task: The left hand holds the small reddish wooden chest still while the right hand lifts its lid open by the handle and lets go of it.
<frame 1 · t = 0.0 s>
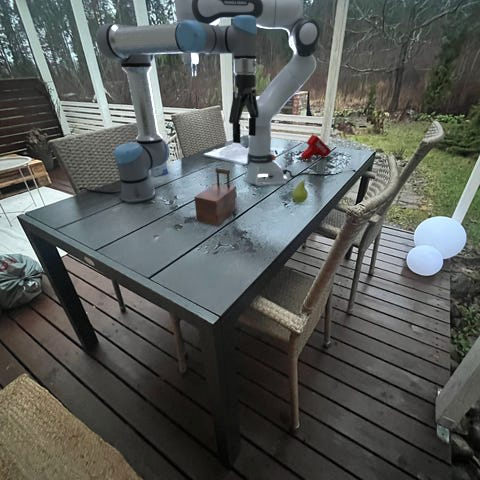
left hand: (244, 139, 104), 28 cm above the table, tool pointing down, fingers open, 13 cm apart
right hand: (192, 76, 120), 48 cm above the table, tool pointing down, fingers open, 8 cm apart
relief map: (236, 155, 185), on the table
chest: (217, 215, 111), on the table
fruit: (299, 202, 122), on the table
ink box: (159, 174, 155), on the table
lid: (215, 183, 104), point 13 cm above the table, hinge at 0.0°
toy gun: (315, 159, 177), on the table
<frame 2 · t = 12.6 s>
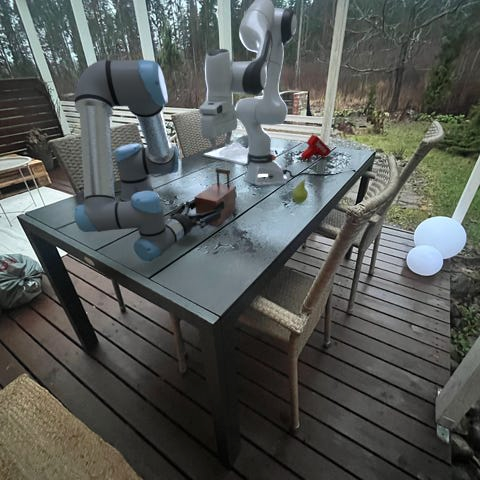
left hand: (211, 202, 105), 7 cm above the table, tool horizontal, fingers closed on chest, 10 cm apart
right hand: (221, 146, 102), 26 cm above the table, tool pointing down, fingers open, 8 cm apart
chest: (216, 215, 111), on the table, touching left hand
everything else where it was.
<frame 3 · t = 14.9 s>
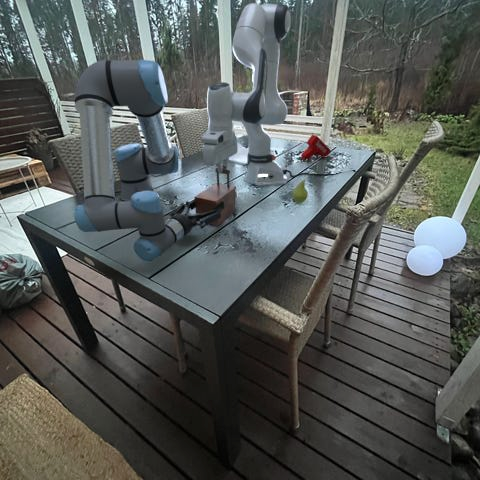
left hand: (211, 202, 105), 7 cm above the table, tool horizontal, fingers closed on chest, 10 cm apart
right hand: (222, 170, 107), 17 cm above the table, tool pointing down, fingers closed on lid, 2 cm apart
chest: (216, 215, 111), on the table, touching left hand
lid: (215, 183, 104), point 13 cm above the table, hinge at 0.0°, touching right hand
everything else where it was.
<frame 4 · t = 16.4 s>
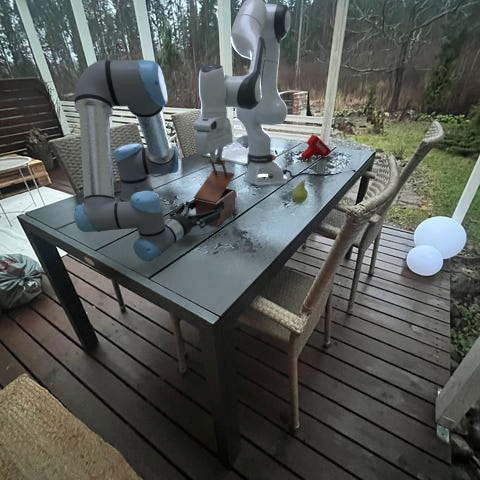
left hand: (211, 202, 105), 7 cm above the table, tool horizontal, fingers closed on chest, 10 cm apart
right hand: (216, 160, 101), 22 cm above the table, tool pointing down, fingers closed
chest: (216, 215, 111), on the table, touching left hand
lid: (212, 178, 101), point 16 cm above the table, hinge at 22.6°, touching right hand
everything else where it was.
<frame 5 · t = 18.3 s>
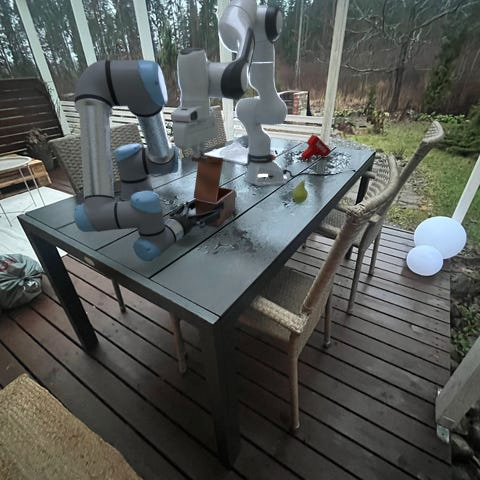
left hand: (211, 202, 105), 7 cm above the table, tool horizontal, fingers closed on chest, 10 cm apart
right hand: (199, 156, 91), 26 cm above the table, tool pointing down, fingers closed, pressing on lid
chest: (216, 215, 111), on the table, touching left hand
lid: (202, 177, 95), point 19 cm above the table, hinge at 66.6°, touching right hand
everything else where it was.
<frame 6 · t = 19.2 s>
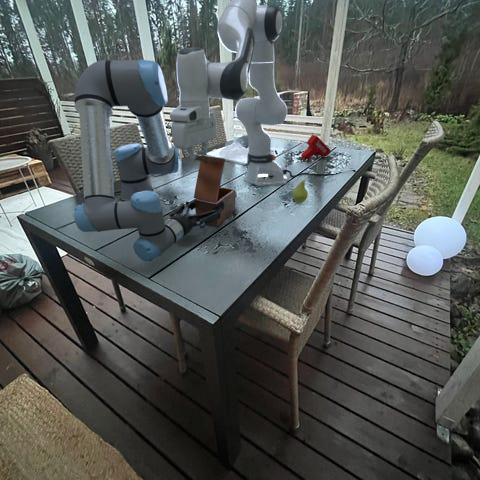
left hand: (211, 202, 105), 7 cm above the table, tool horizontal, fingers closed on chest, 10 cm apart
right hand: (198, 157, 90), 26 cm above the table, tool pointing down, fingers open, 5 cm apart
chest: (216, 215, 111), on the table, touching left hand
lid: (203, 177, 96), point 18 cm above the table, hinge at 61.5°, touching right hand
everything else where it was.
when the left hand's fingers open (7 cm above the table, at t = 22.6 s): chest stays where it is, on the table.
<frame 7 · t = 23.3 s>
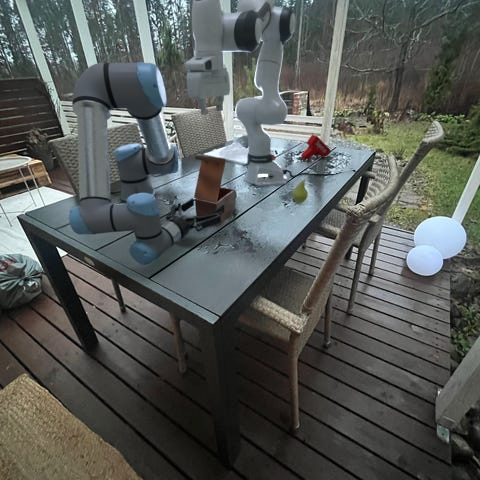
left hand: (207, 205, 103), 7 cm above the table, tool horizontal, fingers open, 13 cm apart
right hand: (212, 112, 91), 38 cm above the table, tool pointing down, fingers open, 8 cm apart
chest: (217, 215, 112), on the table
lid: (204, 176, 96), point 19 cm above the table, hinge at 59.9°
everything else where it was.
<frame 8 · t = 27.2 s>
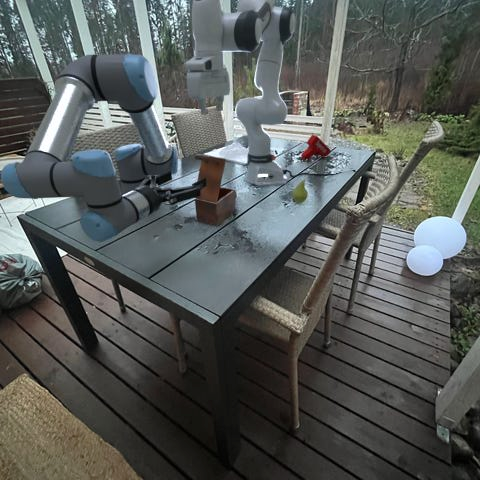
left hand: (187, 178, 88), 21 cm above the table, tool horizontal, fingers open, 13 cm apart
right hand: (212, 112, 91), 38 cm above the table, tool pointing down, fingers open, 8 cm apart
nothing on the table moved.
at the end: lid at +60° (first picture: +0°); the left hand is holding nothing; the right hand is holding nothing; chest tilted 0°; chest never tilted more than 1° during the clip; chest moved 0.1 cm from its start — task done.
